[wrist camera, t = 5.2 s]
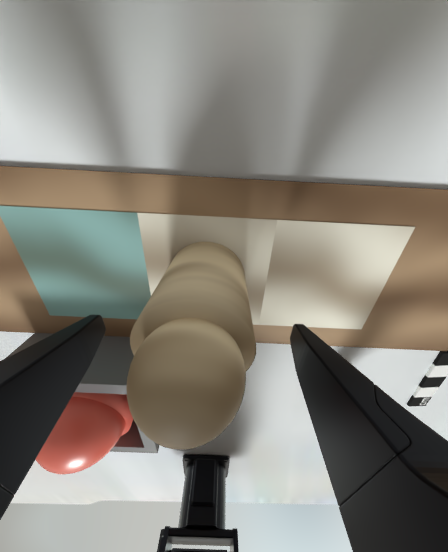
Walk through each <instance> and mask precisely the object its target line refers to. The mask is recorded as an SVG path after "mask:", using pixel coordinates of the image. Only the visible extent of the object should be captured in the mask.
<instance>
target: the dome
mask: <svg viewBox="0 0 448 552" xmlns="http://www.w3.org/2000/svg"><path fill="white" fill-rule="evenodd" d="M132 422H133V417H132V415H131V412H130V410H129V405H128V400H127V395H126V394H106V393H81V392H74V394H73V396H72V397H71V399H70V401H69V402H68V404H67V406H66V408H65V409H64V411H63V413H62V414H61V416H60V418H59V420H58V421H57V423H56V425H55V427H54V428H53V430H52V432H51V433H50V435H49V437H48V439H47V440H46V442H45V444H44V445H43V447H42V449H41V451H40V452H39V454H38V456H37V457H36V461H37V462H38V463H39V464H40V466H41V467H43V468H44V469H46V470H47V471H49V472H52V473H56V474H70V473H75V472H79V471H82V470H84V469H86V468H88V467H90V466H92V465H93V464H95V463H97V462H98V461H99V460H101V459H102V458H103V457H104V456H105V455H106V454H107V453H108V452H109V451H110V450H111V449H112V448H113V447H114V445H115V444H116V443H117V441H118V440H119V438H120V436H122V435H124V434H126V433H127V432H128V431H129V429H130V427H131V424H132Z"/></svg>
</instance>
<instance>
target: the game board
mask: <svg viewBox="0 0 448 552" xmlns="http://www.w3.org/2000/svg"><path fill="white" fill-rule="evenodd" d="M197 242H214V243H218V244H221V245H223V246H225V247H227V248H229V249H230V250H231V251H233V252H234V253H235V254H236V255H237V257H238V258H239V259H240V261H241V263H242V265H243V268H244V273H245V279H246V286H247V292H248V298H249V304H250V310H251V317H252V323H253V329H254V335H255V341H256V343H277V344H291V343H290V335H291V332H292V328H293V325H294V324H304V325H305V326H306V327H307V328H309V329H310V330H311V331H312V332H313V333H315V334H316V335H317V336H318V337H319V338H320V339H322V340H323V341H324V342H325V343H326V344H328V345H329V346H344V347H367V348H390V349H412V350H435V351H447V350H448V190H444V189H425V188H406V187H387V186H368V185H350V184H331V183H312V182H293V181H274V180H256V179H237V178H218V177H199V176H180V175H161V174H143V173H124V172H105V171H86V170H67V169H49V168H30V167H11V166H0V331H6V332H29V333H51V334H54V333H56V332H58V331H60V330H62V329H64V328H66V327H68V326H70V325H71V324H73V323H75V322H77V321H79V320H81V319H83V318H85V317H87V316H89V315H92V314H95V315H101V316H102V318H103V321H104V324H105V327H106V332H105V334H104V336H119V337H130V335H131V331H132V328H133V326H134V324H135V322H136V321H137V319H138V317H139V316H140V314H141V312H142V311H143V309H144V307H145V306H146V304H147V302H148V301H149V299H150V297H151V296H152V294H153V292H154V290H155V289H156V287H157V285H158V284H159V282H160V280H161V279H162V277H163V275H164V274H165V272H166V270H167V269H168V267H169V265H170V264H171V262H172V260H173V259H174V257H175V256H176V254H177V253H178V252H179V251H180V250H181V249H183V248H184V247H186V246H188V245H190V244H193V243H197Z"/></svg>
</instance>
